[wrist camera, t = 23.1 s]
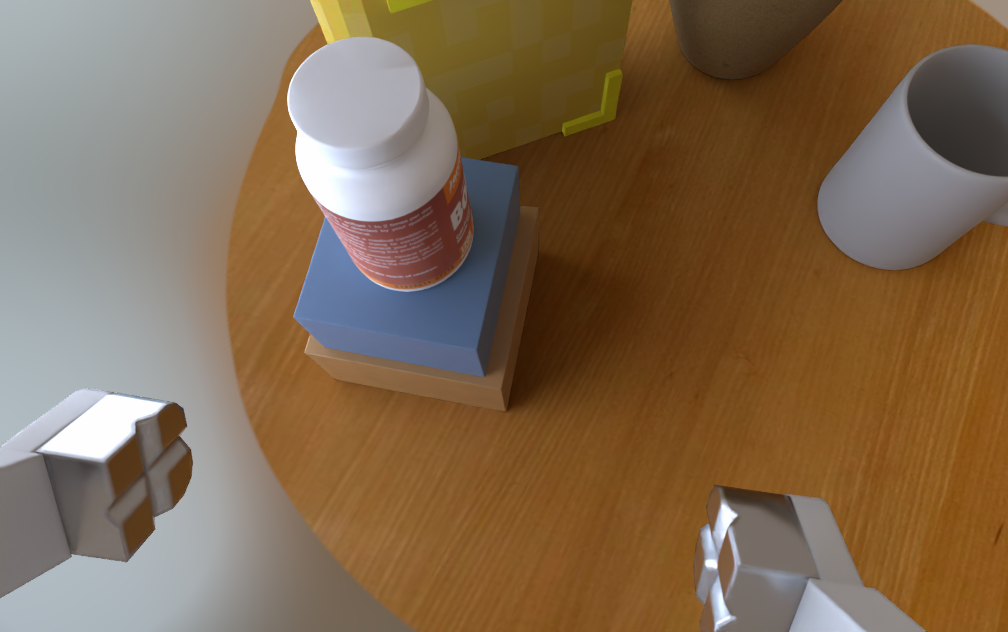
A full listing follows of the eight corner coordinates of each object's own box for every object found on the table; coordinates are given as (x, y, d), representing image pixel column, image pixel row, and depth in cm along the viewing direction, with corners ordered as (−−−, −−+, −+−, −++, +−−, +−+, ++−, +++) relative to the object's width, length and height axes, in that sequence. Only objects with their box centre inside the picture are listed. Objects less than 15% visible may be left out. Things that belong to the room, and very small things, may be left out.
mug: (803, 249, 44) (886, 155, 33) (829, 142, 46) (914, 24, 36) (996, 305, 42) (1148, 224, 31) (1012, 191, 44) (1157, 81, 34)
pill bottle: (491, 273, 32) (469, 138, 22) (367, 312, 32) (284, 193, 21) (454, 167, 34) (418, -3, 24) (338, 202, 34) (249, 45, 23)
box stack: (506, 412, 41) (496, 365, 31) (335, 379, 42) (269, 323, 32) (538, 251, 44) (539, 159, 34) (379, 225, 46) (333, 129, 35)
